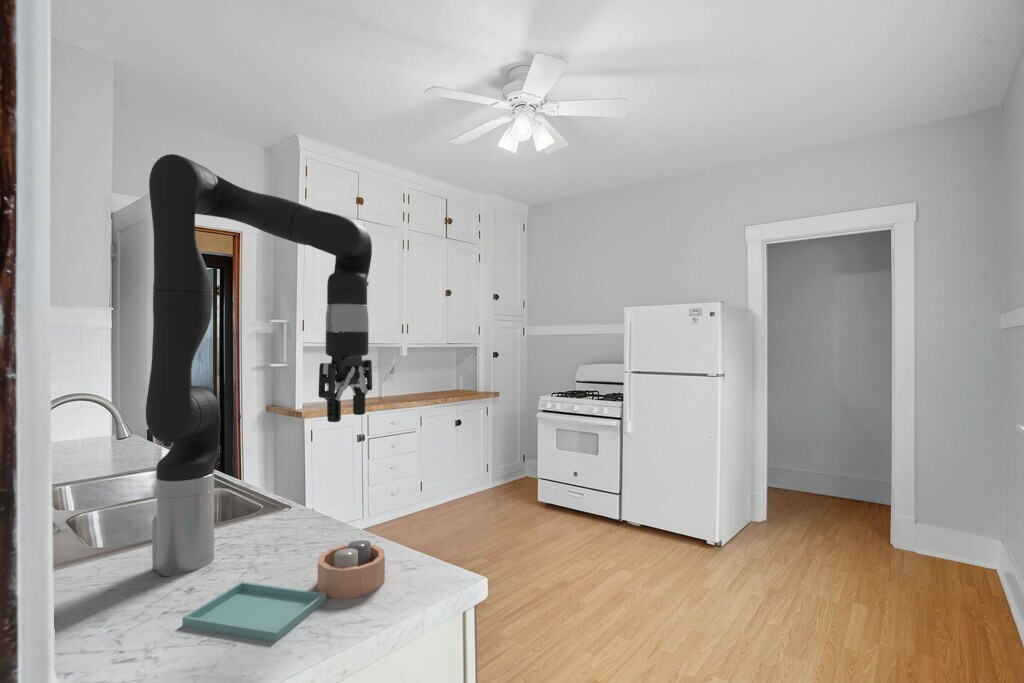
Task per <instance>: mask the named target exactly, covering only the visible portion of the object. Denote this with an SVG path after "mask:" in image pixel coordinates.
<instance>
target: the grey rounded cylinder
mask: <svg viewBox="0 0 1024 683" xmlns="http://www.w3.org/2000/svg"><path fill="white" fill-rule="evenodd" d="M347 545H348V548H353V549H356V550H358V566H361V565H364V564H367V563H370V562H371V545H372V544H371V542H370V541H369V540H364V539H363V540H362V539H360V540H359V539H358V540H355V541H352V542H350V543H349V544H347Z"/></svg>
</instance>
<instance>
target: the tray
mask: <svg viewBox="0 0 1024 683" xmlns="http://www.w3.org/2000/svg"><path fill="white" fill-rule="evenodd" d="M326 601H327V595H326V593H321V592H320V591H311V590H304V589H297V588H290V587H285V586H284V587H282V586H277V585H276V586H275V585H269V584H268V585H267V584H262V583H255V582H248V581H241V582H239V583H237V584H236V585H234V586H232V587H231V588H229V589H227V590H225V591H224V592H222V593H221V594H219V595H217V596H216V597H214V598H212V599H211V600H209V601H207V602H206V603H204V604H202V605H201V606H200V607H198V608H196V609H194V610H193V611H191V612H189V613H187V614H186V615H184V616H183V617H182V627H187V628H191V629H198V630H205V631H209V632H215V633H219V634H220V633H222V634H227V635H234V636H239V637H245V638H250V639H256V640H257V639H258V640H262V641H269V642H274V643H277V642H278V641H280V639H282V638H283V637H284V636H285V635H287V634H288V633H290V631H292V629H294V628H295V627H297V626H298V625H299V624H300V623H301V622H302V621H303V620H305V619H306V618H307V617H309V616H310V615H311V614H312V613H313V612H314V611H316V610H317V609H318V608H319V607H321V606H322V605H323V604H324V603H325V602H326Z"/></svg>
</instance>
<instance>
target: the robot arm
mask: <svg viewBox="0 0 1024 683" xmlns="http://www.w3.org/2000/svg"><path fill="white" fill-rule="evenodd" d="M148 188H149V200H150V210H151V218H152V230H153V231H152V232H153V286H152V287H153V288H152V290H153V291H152V314H153V318H152V319H153V321H152V324H153V328H152V330H153V331H152V348H151V349H152V350H151V351H152V352H151V365H150V366H151V367H150V374H149V382H148V388H147V389H148V390H147V397H146V403H145V421H146V425H147V426H146V427H147V429H148V431H149V432H150V434H151V435H152V437H153V438H155V440H157V441H159V442H161V443H166V444H167V443H168V444H169V443H170V444H171V443H172V445H171V448H170V449H169V450H168V452H167V453H166V454H165V455H164V456H163V457H162V458H161V459H160V460H159V461H158V463H157V465H156V516H155V517H153V518H152V521H151V523H152V524H151V526H152V528H151V530H152V534H151V537H152V538H151V539H152V540H151V541H152V542H151V543H152V544H151V545H152V546H151V547H152V548H151V549H152V550H151V551H152V558H151V560H152V561H151V562H152V564H151V565H152V570H153V571H156V573H157V574H158V575H160V576H163V577H172V576H174V575H177V574H178V575H179V574H185V573H189V572H193V571H197V570H200V569H202V568H205V567H206V566H209V565H210V564H212V563H213V561H214V560H215V462H216V461H217V458H218V457H219V451H220V436H221V435H220V434H221V408H220V404H219V401H218V399H217V397H216V396H215V394H214V393H213V392H212V391H211V390H209V389H206V388H203V387H191V385H192V382H191V380H192V367H193V362H194V359H195V356H196V354H197V351H198V349H199V347H200V345H201V344H202V342H203V339H204V338H205V336H206V333H207V331H208V329H209V325H210V323H211V319H212V304H213V302H212V300H213V299H212V298H213V294H212V292H213V290H212V289H213V288H212V286H213V285H212V281H211V277H210V274H209V271H208V267H207V265H206V262H205V260H204V257H203V256H202V253H201V251H200V247H199V245H198V241H197V234H196V226H195V225H196V215H201V216H208V217H214V218H215V217H216V218H222V219H228V220H231V221H236V222H238V223H242V224H245V225H248V226H251V227H252V228H255V229H258V230H259V231H262V232H264V233H267V234H270V235H273V236H275V237H278V238H281V239H283V240H287V241H290V242H293V243H296V244H300V245H304V246H309V247H311V248H314V249H317V250H320V251H322V252H325V253H327V254H330V255H333V256H335V261H334V262H335V263H334V264H335V265H334V270H333V273H332V272H331V274H330V275H328V277H327V278H328V279H327V286H326V287H327V289H326V294H327V295H326V296H327V298H326V304H327V305H326V313H325V354H326V356H328V357H331V361H330V363H329V362H322V363H319V371H318V372H319V373H318V398H320V399H323V400H325V401H326V412H327V413H326V414H327V415H326V417H327V421H328V422H329V423H339V422H340V421H341V420H342V416H341V415H342V412H341V411H342V410H341V409H342V400H341V397H342V396H343V392H344V391H346V390H347V389H348V387H350V389H351V391H352V393H353V395H352V413H353V415H355V416H356V415H357V416H363V415H365V414H366V395H368V393H369V391H372V390H373V362H372V360H371V359H363V356H367V355H368V354H369V312H368V284H367V283H368V276H369V273H370V269H371V262H372V256H373V255H372V254H373V245H372V238H371V234H370V233H369V231H368V230H367V229H366V228H365V227H364V226H362V225H361V224H360V223H357V222H356V221H354V220H352V219H351V218H348V217H345V216H342V215H339V214H335V213H331V212H327V211H322V210H317V209H315V208H313V207H310V206H308V205H305V204H301V203H298V202H295V201H293V200H290V199H285V198H283V197H279V196H274V195H271V194H266V193H260V192H256V191H251V190H249V189H245V188H243V187H240V186H238V185H236V184H234V183H232V182H230V181H228V180H227V179H224V178H222V177H220V176H219V175H217V174H216V173H214V172H212V171H211V170H210V169H209V168H207V167H205V166H203V165H201V164H200V163H198V162H195V161H193V160H192V159H189V158H187V157H184V156H182V155H178V154H174V153H172V154H170V153H169V154H165V155H162V156H160V158H158V159H157V160H156V161H155V162H154V164H153V166H152V168H151V170H150V174H149V179H148ZM326 387H327V389H326Z"/></svg>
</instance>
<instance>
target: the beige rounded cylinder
mask: <svg viewBox="0 0 1024 683" xmlns="http://www.w3.org/2000/svg"><path fill="white" fill-rule="evenodd" d="M356 566H358V550H356V549H353V548H346V549H341V550H338V551H337V552H335V567H341V568H347V567H356Z"/></svg>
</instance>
